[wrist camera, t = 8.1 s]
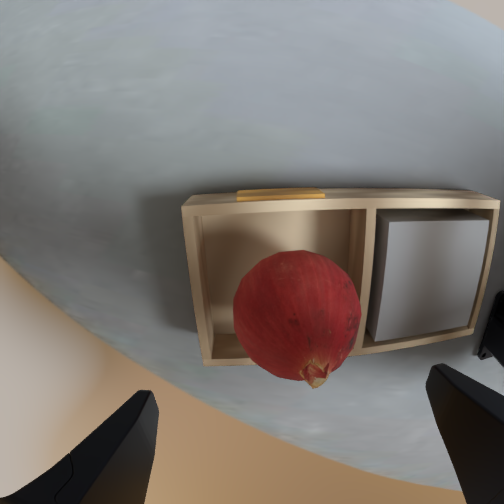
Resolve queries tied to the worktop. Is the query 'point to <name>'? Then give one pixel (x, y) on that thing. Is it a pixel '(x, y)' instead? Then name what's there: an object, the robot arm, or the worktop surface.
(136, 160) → the worktop surface
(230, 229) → the wooden compartment tray
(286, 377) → the red rounded piece
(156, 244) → the worktop surface
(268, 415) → the worktop surface
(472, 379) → the robot arm
